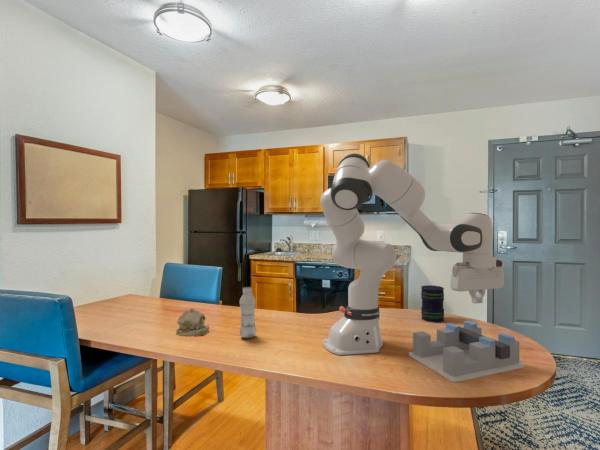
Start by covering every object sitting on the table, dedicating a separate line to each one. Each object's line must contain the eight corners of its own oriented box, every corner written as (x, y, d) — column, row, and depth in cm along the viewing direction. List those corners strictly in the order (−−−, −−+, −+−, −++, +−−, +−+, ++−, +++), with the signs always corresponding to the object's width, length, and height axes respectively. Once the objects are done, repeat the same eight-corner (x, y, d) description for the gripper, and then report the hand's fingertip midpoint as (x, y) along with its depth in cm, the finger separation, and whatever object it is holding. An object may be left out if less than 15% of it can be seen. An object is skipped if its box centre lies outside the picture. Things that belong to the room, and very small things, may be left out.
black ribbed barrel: (421, 321, 148) (420, 288, 148) (421, 315, 158) (421, 284, 157) (444, 323, 145) (444, 290, 145) (443, 317, 154) (443, 286, 154)
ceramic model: (170, 335, 135) (169, 311, 135) (186, 326, 146) (185, 304, 146) (200, 337, 131) (200, 313, 131) (214, 328, 142) (214, 306, 142)
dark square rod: (501, 359, 98) (501, 347, 98) (450, 337, 117) (450, 327, 117) (510, 357, 99) (510, 345, 99) (458, 335, 118) (458, 326, 118)
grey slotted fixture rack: (453, 382, 92) (453, 349, 92) (408, 355, 111) (408, 327, 111) (524, 367, 101) (524, 337, 101) (472, 344, 120) (472, 319, 120)
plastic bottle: (259, 335, 132) (258, 286, 132) (250, 341, 126) (249, 290, 126) (246, 333, 135) (245, 285, 135) (236, 339, 129) (235, 288, 129)
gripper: (461, 263, 102) (460, 307, 102) (507, 261, 109) (507, 302, 109) (445, 261, 108) (445, 303, 108) (491, 259, 115) (490, 298, 115)
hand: (477, 302), depth 109 cm, fingers closed
